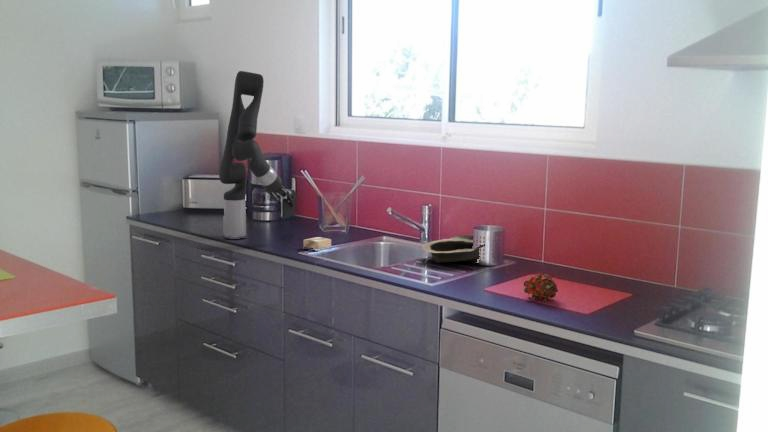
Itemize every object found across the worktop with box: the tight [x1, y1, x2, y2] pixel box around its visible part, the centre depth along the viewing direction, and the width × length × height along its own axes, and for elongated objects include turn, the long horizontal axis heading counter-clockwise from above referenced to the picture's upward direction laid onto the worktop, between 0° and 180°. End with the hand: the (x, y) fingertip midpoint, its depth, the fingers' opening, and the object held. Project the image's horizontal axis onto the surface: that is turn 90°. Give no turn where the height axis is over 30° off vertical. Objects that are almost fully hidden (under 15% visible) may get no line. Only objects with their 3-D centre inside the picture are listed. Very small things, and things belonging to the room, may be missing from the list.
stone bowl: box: [421, 234, 486, 265], centre depth 271 cm, size 25×25×9 cm
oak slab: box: [302, 236, 332, 249], centre depth 293 cm, size 8×8×4 cm
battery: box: [277, 188, 297, 218], centre depth 296 cm, size 7×4×11 cm, turn 139°
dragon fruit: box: [523, 273, 559, 302], centre depth 220 cm, size 8×8×12 cm
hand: (289, 204), depth 298 cm, fingers closed on battery, 4 cm apart
